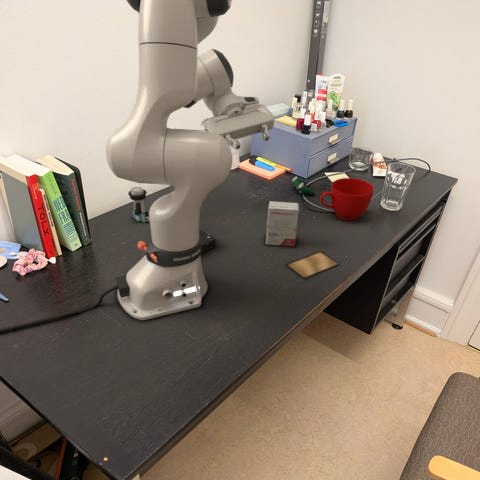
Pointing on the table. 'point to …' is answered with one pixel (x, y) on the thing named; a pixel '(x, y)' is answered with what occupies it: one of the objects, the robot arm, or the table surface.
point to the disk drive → (206, 241)
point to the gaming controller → (302, 186)
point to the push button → (139, 204)
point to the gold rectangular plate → (312, 265)
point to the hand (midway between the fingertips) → (252, 142)
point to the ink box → (282, 223)
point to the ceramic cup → (349, 197)
